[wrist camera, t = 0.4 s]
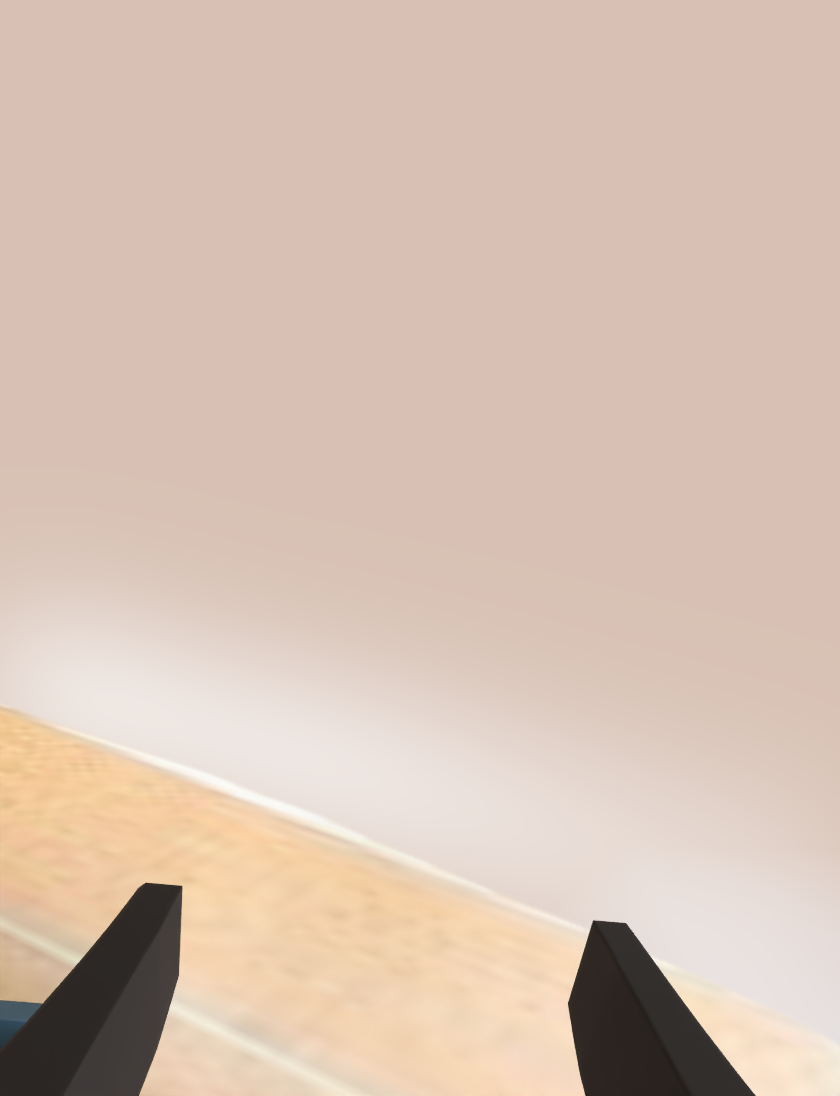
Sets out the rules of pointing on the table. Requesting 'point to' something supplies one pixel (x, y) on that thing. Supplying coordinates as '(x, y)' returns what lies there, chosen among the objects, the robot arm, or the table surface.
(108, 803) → the table surface
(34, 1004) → the bin
